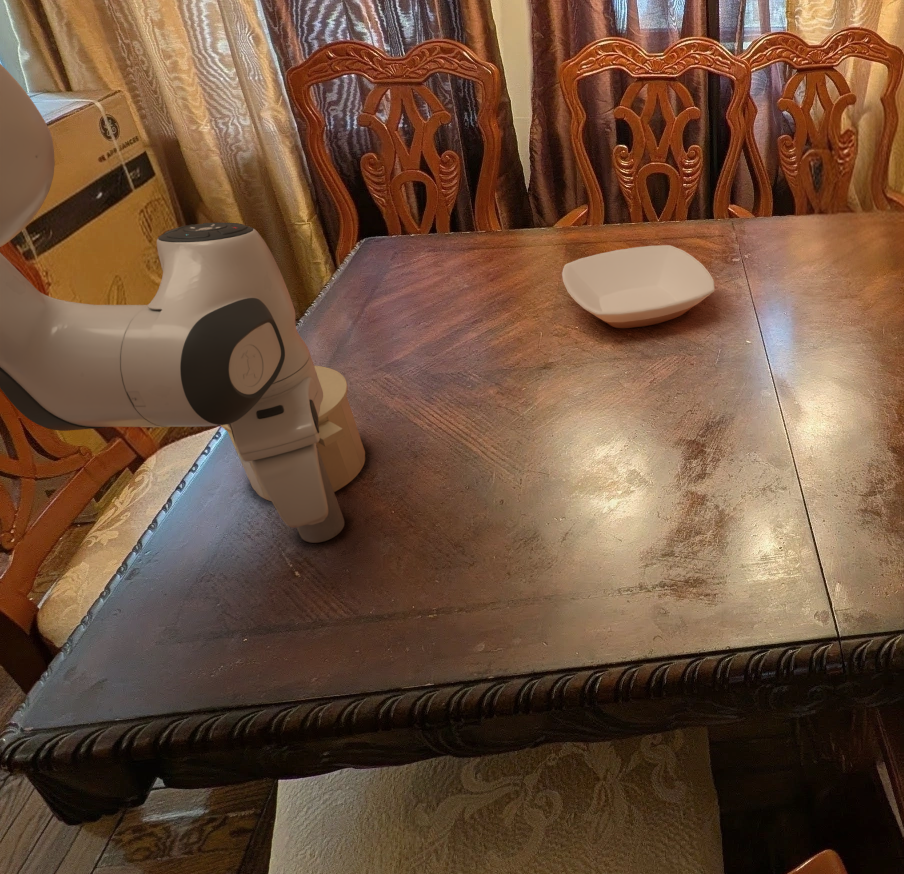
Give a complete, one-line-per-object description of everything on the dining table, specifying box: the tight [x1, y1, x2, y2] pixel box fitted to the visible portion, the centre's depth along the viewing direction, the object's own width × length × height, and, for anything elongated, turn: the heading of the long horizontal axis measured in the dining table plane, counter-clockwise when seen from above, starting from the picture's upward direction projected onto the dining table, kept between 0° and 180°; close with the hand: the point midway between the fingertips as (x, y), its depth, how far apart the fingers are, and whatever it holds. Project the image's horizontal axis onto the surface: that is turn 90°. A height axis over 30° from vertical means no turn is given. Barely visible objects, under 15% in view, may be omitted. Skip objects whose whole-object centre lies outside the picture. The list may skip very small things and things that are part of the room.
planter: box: [296, 445, 345, 544], centre depth 82 cm, size 4×4×10 cm
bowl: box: [561, 244, 716, 329], centre depth 122 cm, size 22×22×5 cm
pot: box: [226, 395, 366, 502], centre depth 91 cm, size 12×18×10 cm
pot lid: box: [220, 365, 349, 433], centre depth 87 cm, size 13×13×4 cm
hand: (313, 502), depth 83 cm, fingers closed on planter, 4 cm apart
